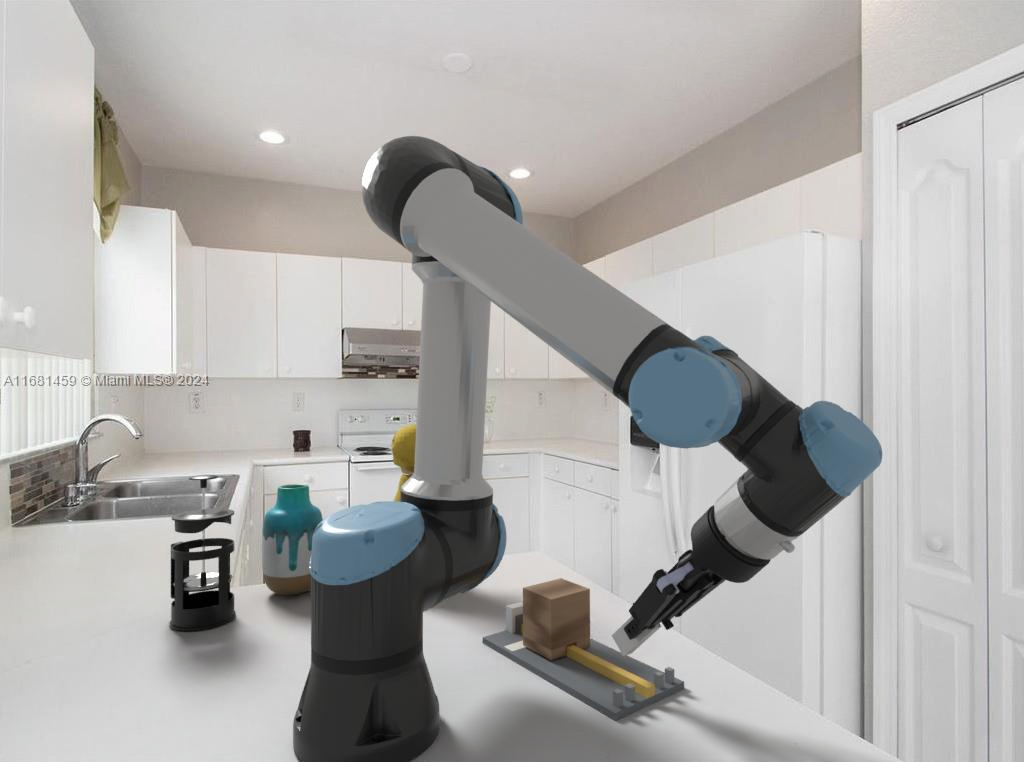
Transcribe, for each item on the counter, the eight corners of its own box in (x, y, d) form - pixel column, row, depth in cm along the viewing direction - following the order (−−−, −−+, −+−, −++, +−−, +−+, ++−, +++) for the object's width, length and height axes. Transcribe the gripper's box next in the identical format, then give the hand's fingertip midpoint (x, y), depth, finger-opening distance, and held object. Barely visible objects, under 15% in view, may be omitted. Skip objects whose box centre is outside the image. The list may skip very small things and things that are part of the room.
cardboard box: (590, 646, 84) (589, 588, 84) (551, 660, 80) (550, 599, 80) (561, 632, 89) (560, 578, 89) (523, 645, 84) (522, 587, 85)
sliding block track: (684, 688, 74) (684, 651, 74) (615, 720, 67) (615, 680, 67) (546, 623, 95) (546, 595, 95) (482, 642, 88) (482, 612, 88)
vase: (304, 604, 104) (304, 491, 104) (248, 600, 106) (248, 489, 107) (334, 584, 114) (334, 482, 115) (283, 581, 117) (283, 481, 117)
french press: (252, 615, 99) (252, 473, 100) (202, 636, 91) (202, 481, 91) (199, 605, 104) (200, 469, 104) (147, 625, 95) (148, 477, 96)
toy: (389, 572, 122) (389, 422, 122) (451, 572, 122) (450, 421, 123) (372, 599, 106) (372, 427, 107) (443, 598, 107) (442, 426, 107)
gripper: (729, 575, 56) (599, 691, 69) (802, 551, 63) (673, 659, 76) (680, 508, 60) (567, 629, 73) (754, 494, 68) (640, 605, 81)
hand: (621, 644), depth 75 cm, fingers closed
